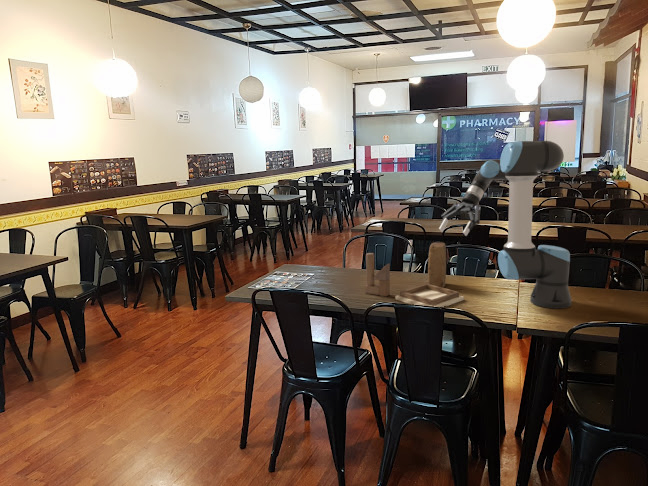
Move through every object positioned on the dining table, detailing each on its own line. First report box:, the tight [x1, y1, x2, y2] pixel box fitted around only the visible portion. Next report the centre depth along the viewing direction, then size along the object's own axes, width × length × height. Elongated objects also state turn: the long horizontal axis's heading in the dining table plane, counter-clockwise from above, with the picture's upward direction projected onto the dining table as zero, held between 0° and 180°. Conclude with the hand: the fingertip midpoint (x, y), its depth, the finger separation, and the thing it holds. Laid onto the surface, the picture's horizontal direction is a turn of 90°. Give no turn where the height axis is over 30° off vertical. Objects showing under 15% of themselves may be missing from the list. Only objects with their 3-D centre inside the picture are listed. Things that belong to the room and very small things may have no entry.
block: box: [427, 241, 447, 288], centre depth 225 cm, size 11×8×20 cm
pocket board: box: [395, 283, 465, 308], centre depth 206 cm, size 20×20×4 cm
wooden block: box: [364, 252, 391, 297], centre depth 215 cm, size 4×11×18 cm, turn 56°
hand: (452, 232), depth 229 cm, fingers open, 13 cm apart
